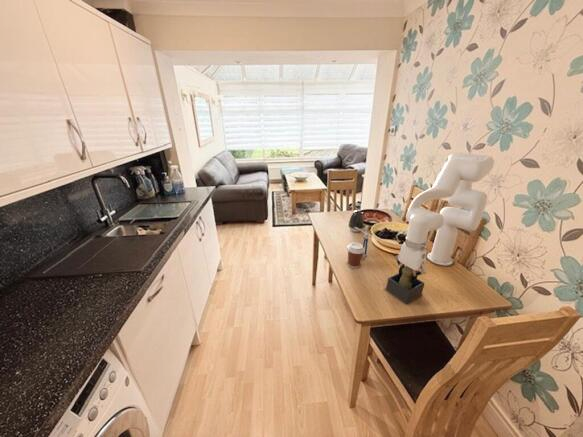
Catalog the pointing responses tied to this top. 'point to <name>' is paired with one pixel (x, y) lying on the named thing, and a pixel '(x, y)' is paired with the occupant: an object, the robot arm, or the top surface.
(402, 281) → the olive flared cylinder
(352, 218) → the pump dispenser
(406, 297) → the bin
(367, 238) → the alien figure
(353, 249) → the coffee cup
